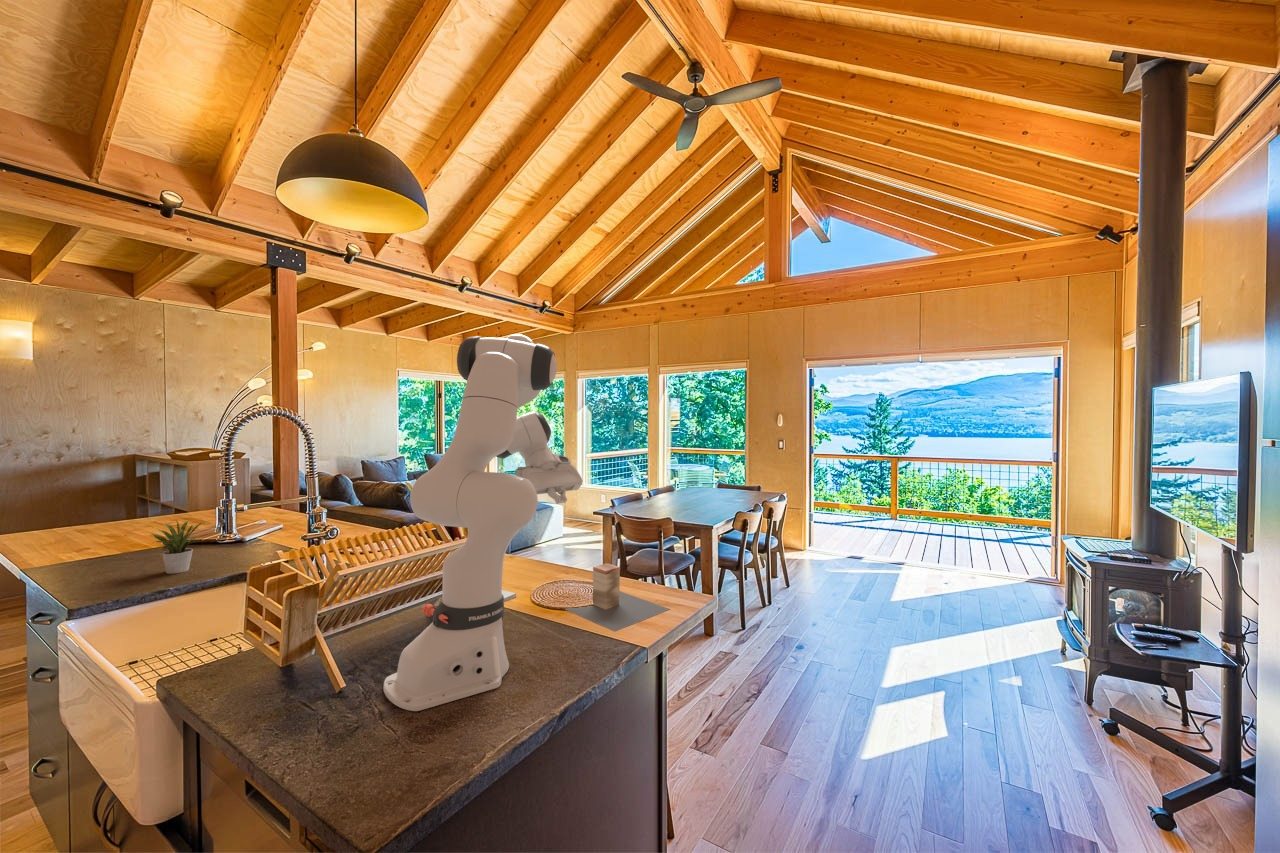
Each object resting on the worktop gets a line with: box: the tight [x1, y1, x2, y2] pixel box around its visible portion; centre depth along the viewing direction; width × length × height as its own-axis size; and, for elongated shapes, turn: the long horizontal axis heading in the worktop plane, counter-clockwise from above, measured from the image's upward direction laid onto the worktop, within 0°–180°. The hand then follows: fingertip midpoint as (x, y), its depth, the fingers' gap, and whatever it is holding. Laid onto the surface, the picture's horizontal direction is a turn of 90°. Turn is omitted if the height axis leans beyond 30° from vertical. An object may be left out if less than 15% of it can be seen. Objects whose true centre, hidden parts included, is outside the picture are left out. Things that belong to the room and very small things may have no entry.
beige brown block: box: [592, 562, 621, 609], centre depth 135 cm, size 5×5×10 cm
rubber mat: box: [564, 590, 671, 632], centre depth 132 cm, size 20×19×1 cm
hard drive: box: [502, 589, 517, 603], centre depth 138 cm, size 2×8×12 cm
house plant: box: [149, 519, 212, 575], centre depth 160 cm, size 14×14×16 cm
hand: (562, 502), depth 148 cm, fingers closed
